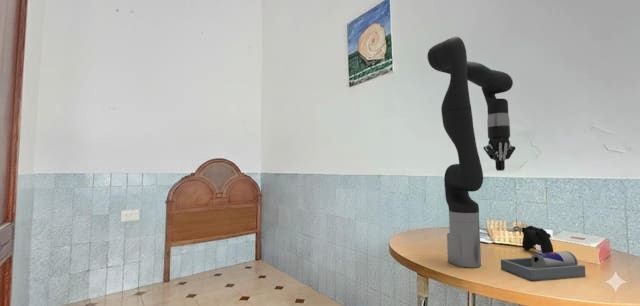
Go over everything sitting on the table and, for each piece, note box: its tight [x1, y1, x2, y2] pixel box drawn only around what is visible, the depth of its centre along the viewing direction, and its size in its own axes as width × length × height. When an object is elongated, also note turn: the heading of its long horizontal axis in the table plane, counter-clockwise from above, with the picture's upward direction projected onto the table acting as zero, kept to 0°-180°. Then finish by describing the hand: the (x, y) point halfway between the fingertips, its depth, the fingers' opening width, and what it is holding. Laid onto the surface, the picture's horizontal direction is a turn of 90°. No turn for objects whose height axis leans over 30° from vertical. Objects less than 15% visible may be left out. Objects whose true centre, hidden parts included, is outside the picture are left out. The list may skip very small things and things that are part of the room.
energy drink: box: [531, 250, 579, 269], centre depth 93 cm, size 5×5×12 cm
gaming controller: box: [521, 225, 554, 253], centre depth 114 cm, size 14×6×10 cm, turn 179°
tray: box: [500, 256, 587, 282], centre depth 93 cm, size 18×11×3 cm, turn 102°
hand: (500, 170), depth 119 cm, fingers closed
